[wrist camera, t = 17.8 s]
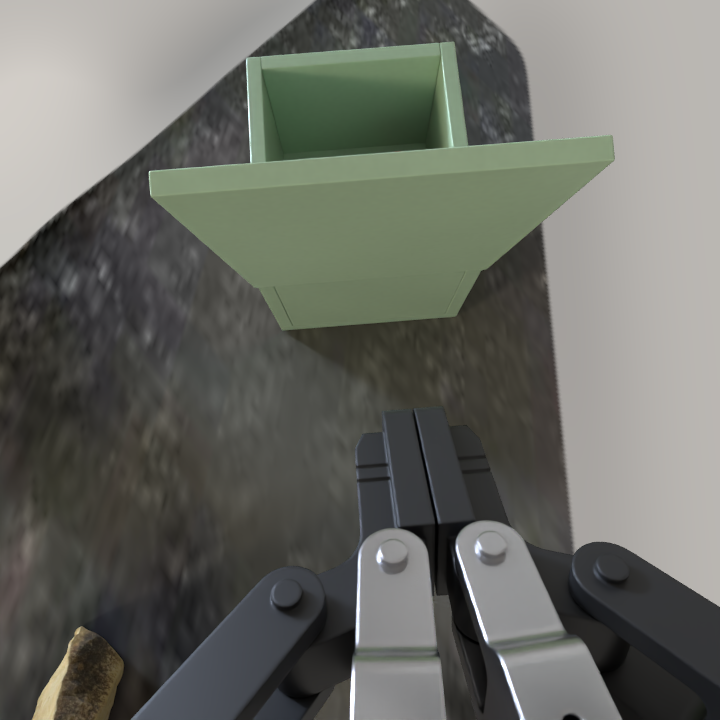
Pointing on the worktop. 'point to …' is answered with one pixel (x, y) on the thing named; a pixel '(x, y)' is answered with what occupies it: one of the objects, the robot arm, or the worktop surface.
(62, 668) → the rock
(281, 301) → the chest
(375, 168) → the lid
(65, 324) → the worktop surface
